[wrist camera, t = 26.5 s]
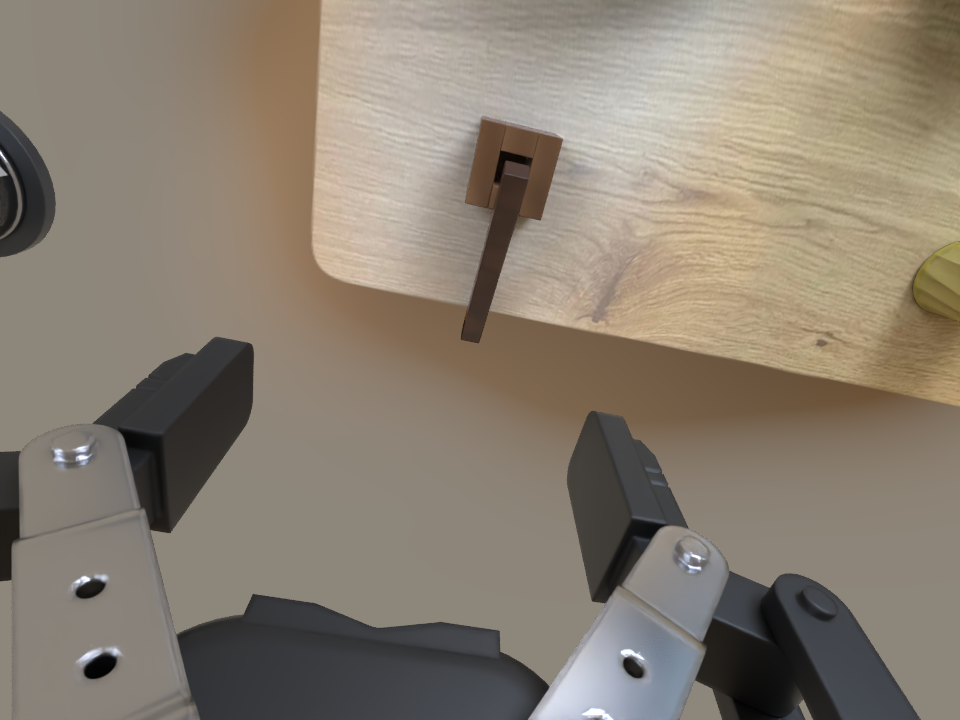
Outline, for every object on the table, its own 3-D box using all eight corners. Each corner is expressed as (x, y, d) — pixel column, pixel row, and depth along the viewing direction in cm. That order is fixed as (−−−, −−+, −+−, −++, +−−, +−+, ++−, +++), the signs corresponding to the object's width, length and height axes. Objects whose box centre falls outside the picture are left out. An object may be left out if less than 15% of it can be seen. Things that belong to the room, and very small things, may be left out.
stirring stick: (505, 159, 33) (462, 326, 45) (504, 173, 32) (460, 340, 44) (530, 165, 33) (480, 330, 45) (529, 179, 32) (478, 343, 44)
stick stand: (466, 192, 39) (464, 203, 36) (482, 115, 37) (482, 118, 33) (535, 208, 40) (540, 220, 36) (555, 133, 37) (563, 138, 34)
